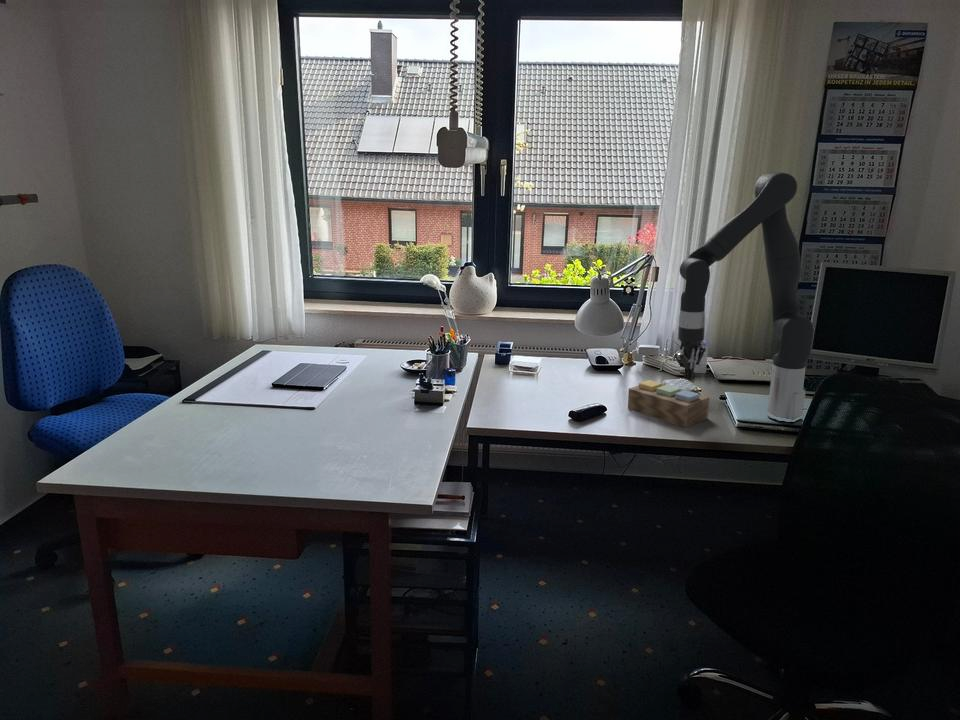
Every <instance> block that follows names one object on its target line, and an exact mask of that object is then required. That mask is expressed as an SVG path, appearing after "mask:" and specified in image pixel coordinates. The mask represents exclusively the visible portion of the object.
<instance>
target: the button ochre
mask: <svg viewBox="0 0 960 720" xmlns="http://www.w3.org/2000/svg"><path fill="white" fill-rule="evenodd" d="M662 384H663V383H662V382H658V381H654V380H650V379H648V380H645V381H642V382H639V383H638V386H639V388H642V389H646V390H649V391H654V390H657V388H659V387H662Z"/></svg>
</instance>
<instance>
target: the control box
mask: <svg viewBox="0 0 960 720" xmlns="http://www.w3.org/2000/svg"><path fill="white" fill-rule="evenodd" d="M665 385H666V384H663V383H662V386H665ZM684 390H685V389H682V388H680V392H681V391H684ZM656 391H657V390H654V391H649V390H646V389H642V388H639V385H636V386H633V387H630V388H628V394H627V398H628V400H627V409H628V410H629V411H630V410H631V411H633V412H635V413H639V414H642V415H645V416H648V417H652V418H654V419H658V420H661V421H663V422H667V423H670V424H672V425H675V426H679V427H682V428H687V427H691V426H692V425H694V424H697V423H700V422H703V421H705V420H707V419H708V418H709V408H710V406H709V405H710V397H709V396H708V395H707V396H706V395H702V394H699V399H697V400H694V401H691V402H687V401H683V400H680V399H676V398H675V395H673V396H666V395H663V394H659V393H656Z"/></svg>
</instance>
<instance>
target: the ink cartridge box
mask: <svg viewBox="0 0 960 720" xmlns="http://www.w3.org/2000/svg"><path fill="white" fill-rule="evenodd" d="M701 346H702V347H704V348H705V352H704V354H703V356H702V358H701V361H700V363H699V365H696V367H695V368H694V374H706V373H707V363H708V362H707V361H708V352H709V350H708V348H709V342H708V340H707V339H704V340H703V341H701Z"/></svg>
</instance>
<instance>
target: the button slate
mask: <svg viewBox="0 0 960 720" xmlns="http://www.w3.org/2000/svg"><path fill="white" fill-rule="evenodd" d="M683 390H684V391H681V392H678V393H675V398H676V399H680V400H683V401H687V402H691V401H694V400H697V399H699V395H700V393H697V392H694V391H691V390H687V389H683Z"/></svg>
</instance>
